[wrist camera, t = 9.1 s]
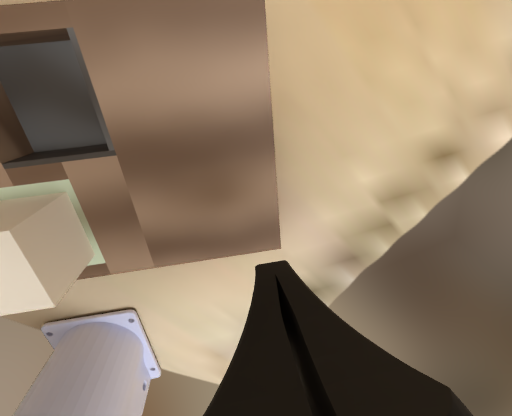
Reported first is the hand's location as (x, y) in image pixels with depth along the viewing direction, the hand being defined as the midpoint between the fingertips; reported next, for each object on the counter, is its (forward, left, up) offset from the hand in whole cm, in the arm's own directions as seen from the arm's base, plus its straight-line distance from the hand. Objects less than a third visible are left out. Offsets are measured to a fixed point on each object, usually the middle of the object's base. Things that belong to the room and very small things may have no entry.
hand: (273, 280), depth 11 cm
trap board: (+4, +10, -10) cm, 15 cm away
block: (+1, +13, -7) cm, 15 cm away
